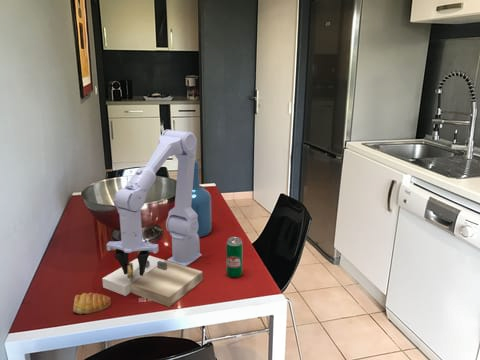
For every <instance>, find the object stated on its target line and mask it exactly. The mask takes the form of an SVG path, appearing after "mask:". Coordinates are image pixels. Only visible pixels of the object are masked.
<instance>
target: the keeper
mask: <svg viewBox="0 0 480 360" xmlns="http://www.w3.org/2000/svg"><path fill="white" fill-rule="evenodd" d="M157 267H158V268H159V269H162V270H167V263H165V262H161V261H158V262H157Z"/></svg>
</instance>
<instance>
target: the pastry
mask: <svg viewBox="0 0 480 360" xmlns="http://www.w3.org/2000/svg"><path fill="white" fill-rule="evenodd" d="M110 305H111V297H109V296H108V295H104V294H102V293H100V294H99V293H98V292H97V293H93V292H89V293H86V292H83V293H82V294H76V295H75V297H74V302H73V309H72V311H73V313H75V314H79V315H82V314H87V315H88V314H92V313H96V312H100V311H103V310H106V309H107V308H109V307H110Z"/></svg>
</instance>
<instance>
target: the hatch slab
mask: <svg viewBox="0 0 480 360" xmlns="http://www.w3.org/2000/svg"><path fill="white" fill-rule="evenodd" d="M165 263H167V270H162V269H159V268H158V267H156V268H154V269H153V270H151V271H150V272H148V273H146V274H145V275H143V276H142V277H140V278H139V279H137V280H136V281H134V282H132V283H131V293H130V294H134V295H136V296H139V297H141V298H144V299H148V300H149V301H153V302H155V303H158V304H159V305H160V304H161V305H162V306H166V307H168V308H169V307H171V306H172V305H174V304H175V303H176V302H178V301H179V300H180V299H182V297H184V296H185V295H186V294H188V293H189V292H190V291H191V290H193V289H194V288H195V287H196V286H197V285H199V284H200V283H202V281H203V278H204V277H203V271H202V270H198V269H195V268H192V267H189V266H182V265H179V264H176V263H172V262H169V261H167V260H166V261H165Z"/></svg>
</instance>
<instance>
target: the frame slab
mask: <svg viewBox="0 0 480 360" xmlns="http://www.w3.org/2000/svg"><path fill="white" fill-rule="evenodd" d="M147 260H148V261H149V263H150V266H149V267H146V268H145V273H144V274H143V275H145V274H146V273H148V272H150V271H151V270H153V269H154V268H156V267H157V262H158V261H161V262H165V261H167V259H166V260H165V259H162V258H159V257H155V256H152V255H149V257H148V259H147ZM129 263H133V271H135V270H136V269H137V268H138V267H139V262H138V259H137V258H135V259H133V260H132V261H129ZM143 275H142V276H143ZM142 276H141V275H140V274H139V275H138V276H136V277H135V278H134V279H133V280H132V281H131V282H127V274H124V272H123V269H122V267H121V266H120V267H119V268H117V269H116V270H114V271H113V272H111V273H109V274H107V275H105V276H104V277H102V279H101V280H102V288H104V289H107V290H109V291H111V292H115V293H117V294H120V295H123V296H125V297H126V296H128V295H129V294H132V293H131V283H132V282H134V281H136V280H137V279H139V278H140V277H142Z"/></svg>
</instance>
